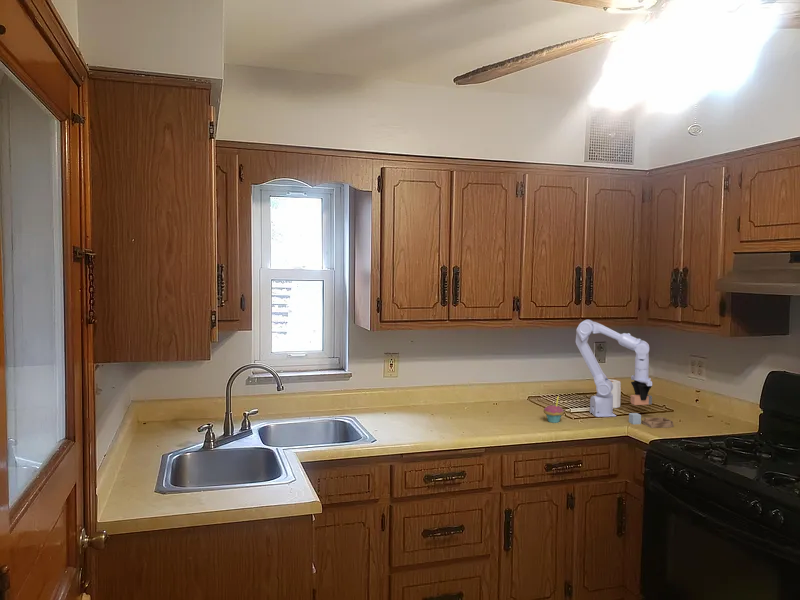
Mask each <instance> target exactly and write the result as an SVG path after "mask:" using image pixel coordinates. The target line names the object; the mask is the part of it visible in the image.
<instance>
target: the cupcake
mask: <svg viewBox="0 0 800 600" xmlns="http://www.w3.org/2000/svg"><path fill="white" fill-rule="evenodd" d="M559 395H560V394H558V396H557V398H556V401H555V404H552V405H547V406H545V407H544V408H543V414H545V415H546V419H547V422H549V423H553V424H556V423H557V424H558V423H560V421H561V418H562V416H563V415H564V413H565V411H564V409H563V408H562V407H561V406H559V398H560V396H559Z"/></svg>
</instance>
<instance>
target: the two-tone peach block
mask: <svg viewBox="0 0 800 600" xmlns="http://www.w3.org/2000/svg"><path fill="white" fill-rule="evenodd" d="M630 404H632V405H634V406H643V405H653V396H652V395H650V394H648V395H647V398H646V400H641V398H640V395H635V394H630Z"/></svg>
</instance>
